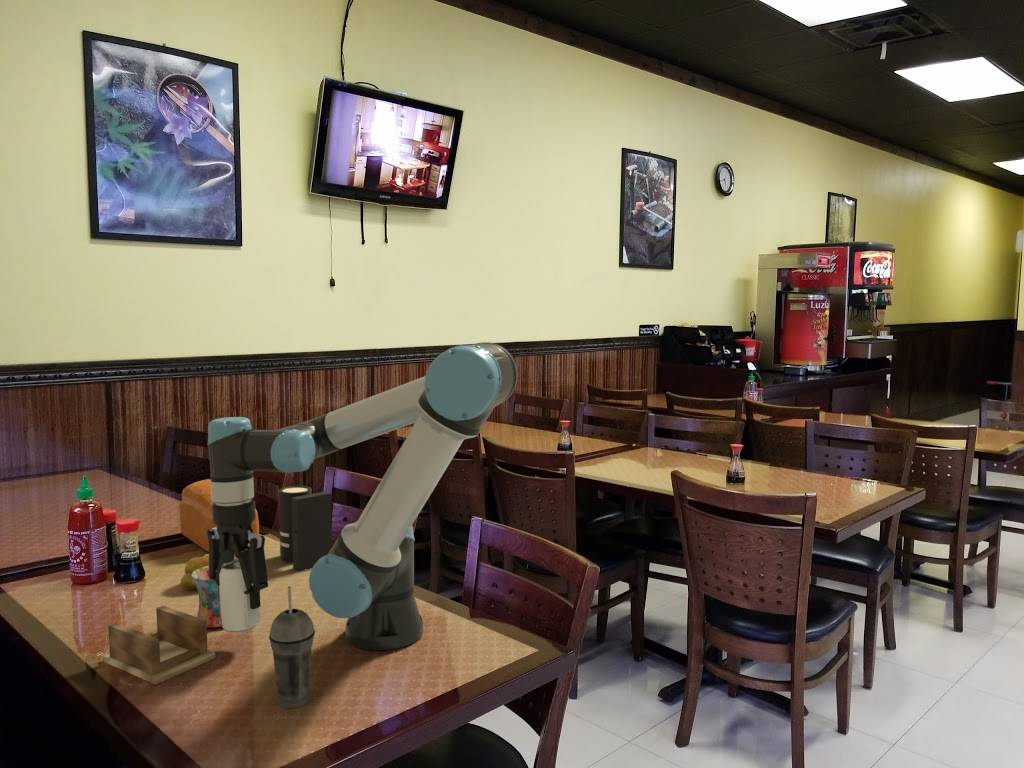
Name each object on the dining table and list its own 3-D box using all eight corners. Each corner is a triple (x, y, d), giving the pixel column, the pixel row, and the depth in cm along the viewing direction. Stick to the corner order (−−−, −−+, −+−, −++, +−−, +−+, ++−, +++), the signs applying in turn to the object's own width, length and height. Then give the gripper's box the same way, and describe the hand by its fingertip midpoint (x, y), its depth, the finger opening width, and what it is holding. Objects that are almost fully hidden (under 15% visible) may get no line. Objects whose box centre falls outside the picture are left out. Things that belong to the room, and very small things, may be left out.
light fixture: (306, 549, 208) (305, 483, 206) (333, 562, 198) (332, 493, 196) (271, 557, 201) (269, 489, 199) (297, 571, 191) (296, 499, 189)
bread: (226, 525, 230) (224, 472, 228) (263, 547, 210) (261, 489, 208) (177, 534, 221) (174, 479, 219) (211, 558, 201) (208, 497, 199)
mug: (200, 635, 155) (198, 583, 154) (187, 620, 162) (185, 570, 161) (261, 620, 162) (259, 570, 161) (245, 606, 170) (244, 558, 168)
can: (246, 616, 153) (242, 556, 152) (265, 624, 149) (262, 562, 148) (215, 627, 148) (211, 565, 147) (234, 635, 144) (230, 572, 143)
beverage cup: (320, 690, 134) (318, 576, 132) (311, 712, 126) (308, 592, 124) (277, 690, 133) (274, 576, 131) (265, 713, 126) (261, 592, 124)
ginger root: (188, 597, 175) (187, 562, 174) (170, 585, 182) (169, 552, 181) (243, 582, 184) (242, 549, 183) (224, 572, 191) (223, 540, 190)
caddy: (215, 658, 145) (214, 621, 144) (155, 684, 135) (154, 645, 134) (162, 637, 154) (161, 603, 153) (102, 661, 144) (100, 624, 143)
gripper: (285, 502, 144) (291, 623, 147) (216, 491, 155) (223, 604, 157) (251, 511, 138) (258, 638, 140) (183, 499, 148) (190, 617, 151)
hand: (240, 620), depth 149 cm, fingers closed on can, 6 cm apart
